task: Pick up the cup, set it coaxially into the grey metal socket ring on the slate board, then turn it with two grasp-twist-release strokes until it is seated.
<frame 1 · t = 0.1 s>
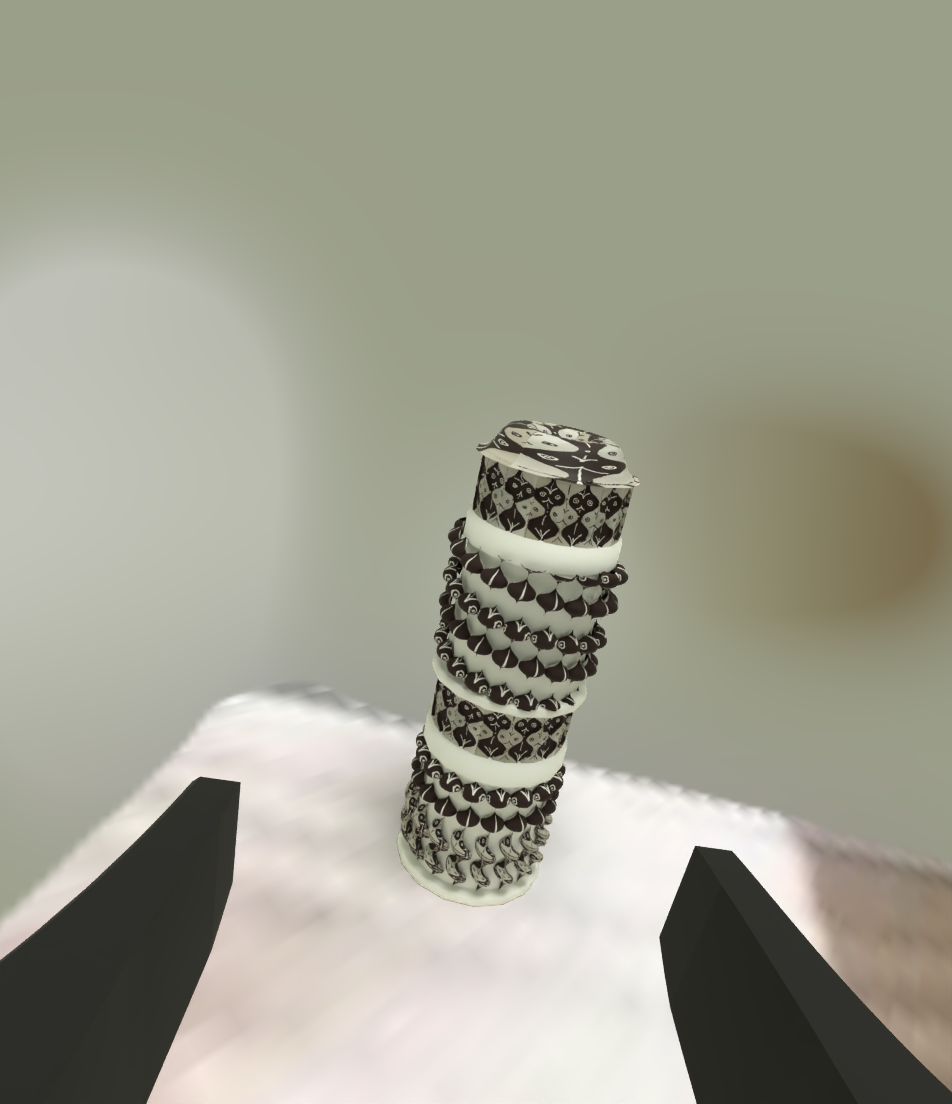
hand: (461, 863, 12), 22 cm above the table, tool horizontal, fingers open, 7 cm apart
decorative candle: (467, 853, 43), on the table
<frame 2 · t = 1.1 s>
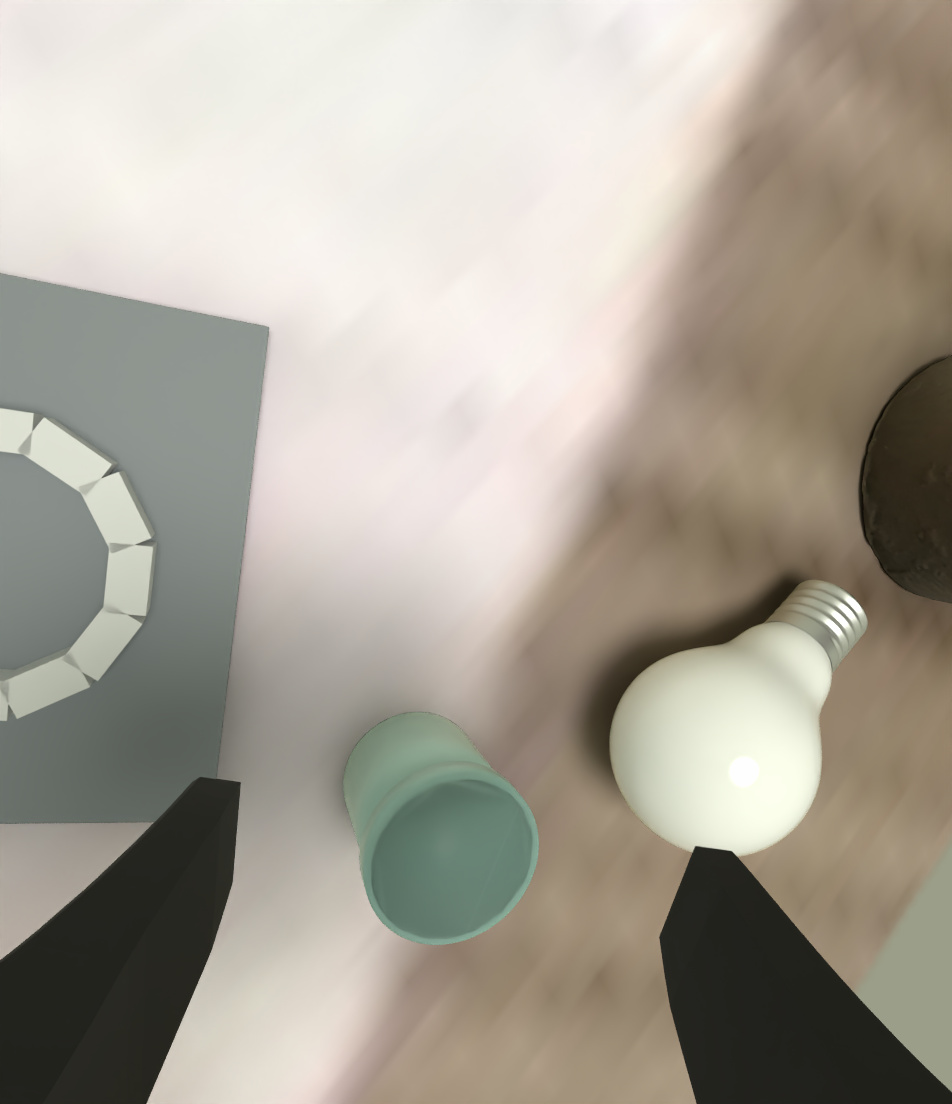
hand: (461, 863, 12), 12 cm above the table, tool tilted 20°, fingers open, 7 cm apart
lightbulb: (842, 595, 26), point 1 cm above the table
cup: (411, 777, 24), on the table
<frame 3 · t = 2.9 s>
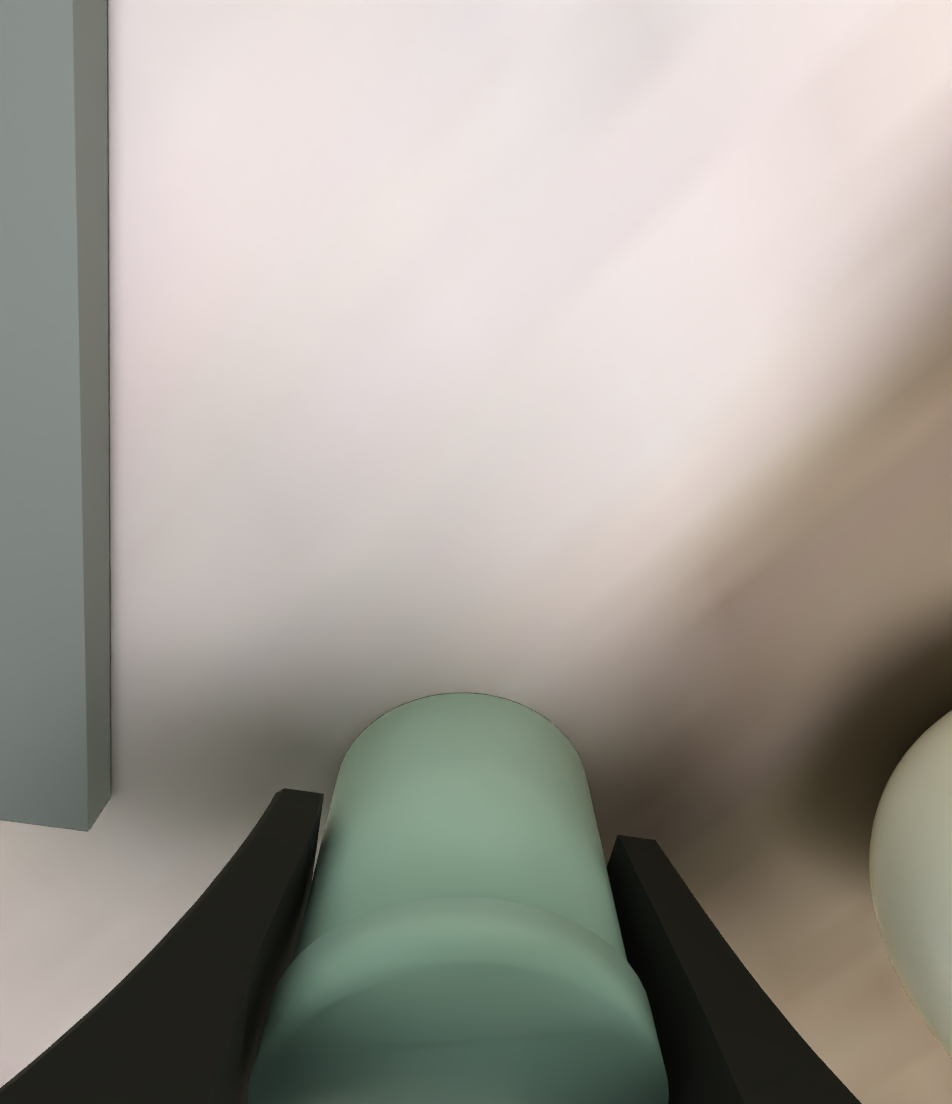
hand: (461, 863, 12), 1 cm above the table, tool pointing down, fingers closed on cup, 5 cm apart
cup: (462, 799, 13), on the table, touching gripper
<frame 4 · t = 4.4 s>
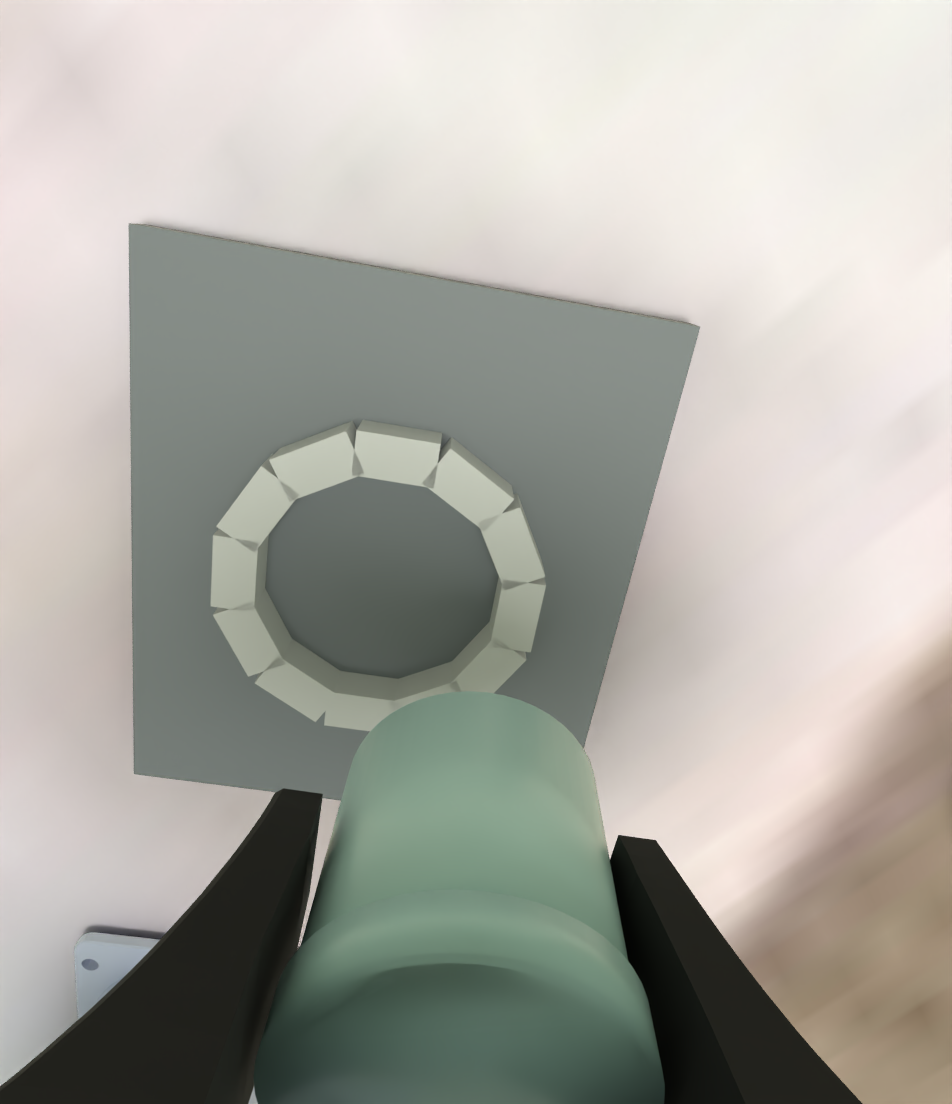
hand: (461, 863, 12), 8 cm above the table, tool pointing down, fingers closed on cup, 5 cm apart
socket board: (385, 564, 19), on the table
cup: (471, 796, 13), point 7 cm above the table, touching gripper
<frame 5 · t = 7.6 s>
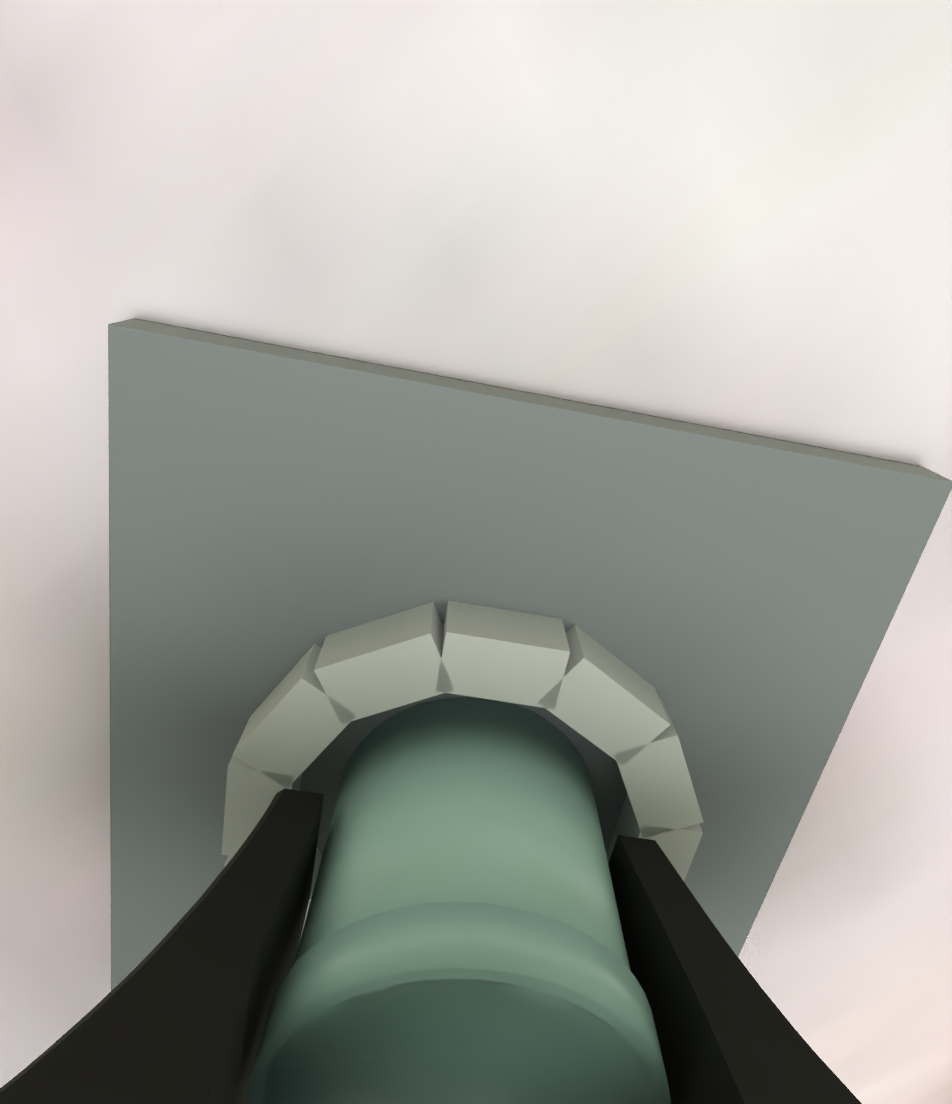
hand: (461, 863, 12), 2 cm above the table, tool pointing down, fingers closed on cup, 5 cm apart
socket board: (462, 770, 14), on the table
cup: (466, 804, 13), point 1 cm above the table, touching gripper, socket board
when the fingers open (2 cm above the table, at t = 9.1 s): cup stays where it is, resting on socket board.
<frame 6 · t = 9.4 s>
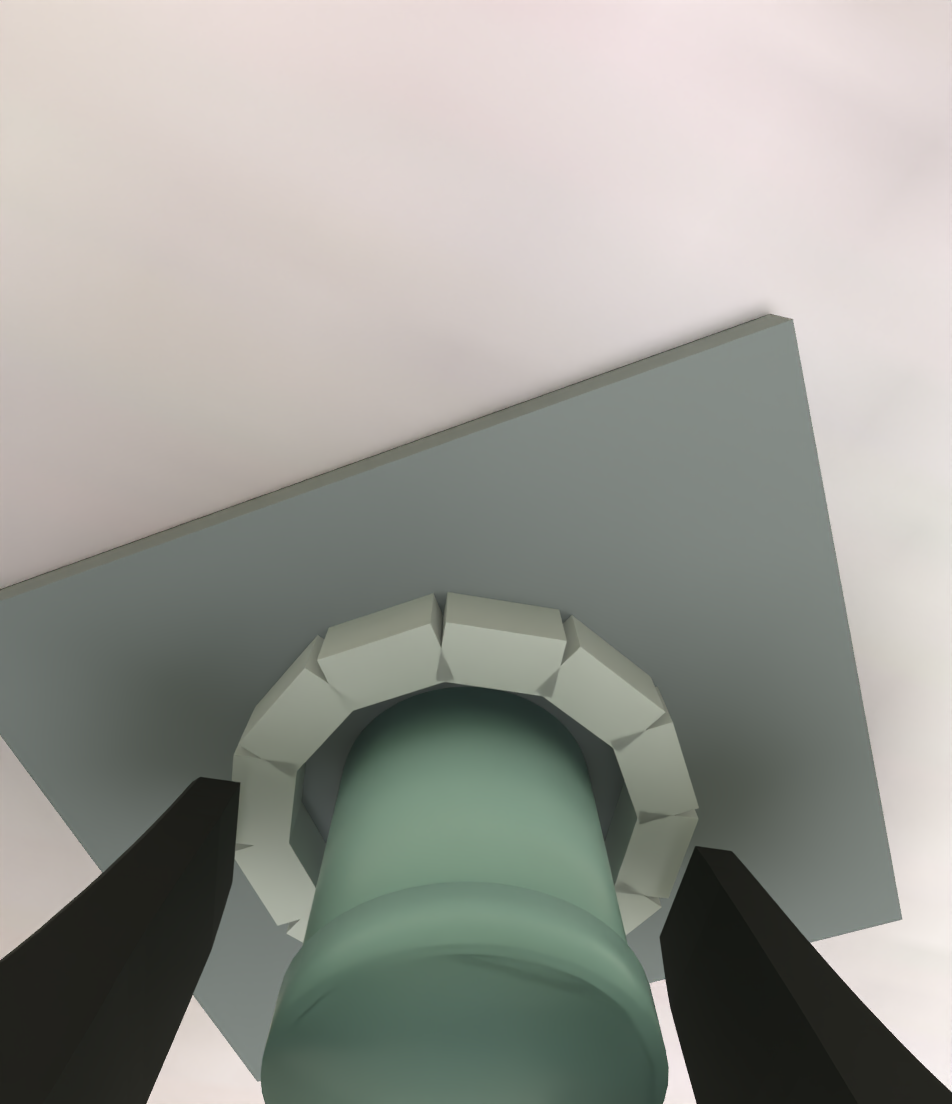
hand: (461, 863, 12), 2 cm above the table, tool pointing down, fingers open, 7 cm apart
socket board: (462, 760, 14), on the table
cup: (465, 791, 13), point 1 cm above the table, touching socket board
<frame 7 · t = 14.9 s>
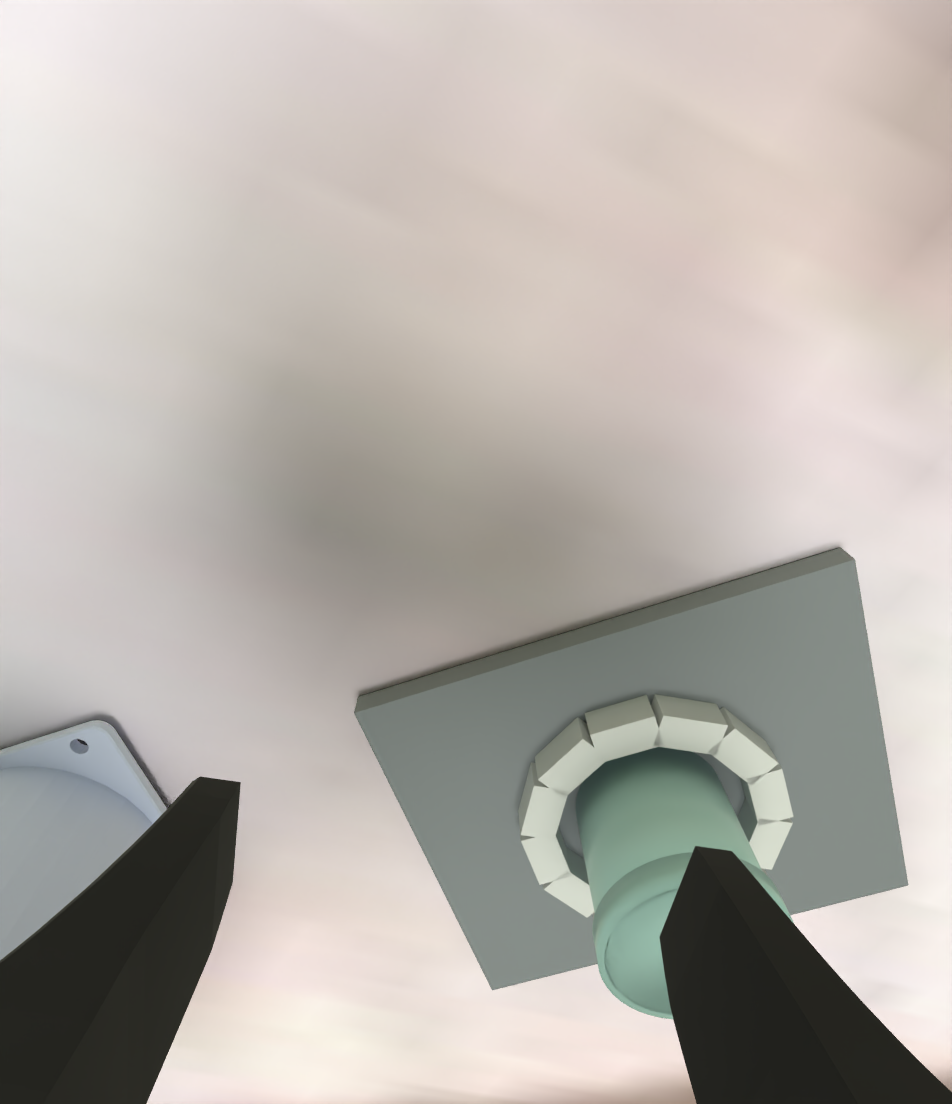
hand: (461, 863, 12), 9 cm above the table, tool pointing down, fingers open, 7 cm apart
socket board: (642, 786, 23), on the table
cup: (648, 803, 22), point 1 cm above the table, touching socket board
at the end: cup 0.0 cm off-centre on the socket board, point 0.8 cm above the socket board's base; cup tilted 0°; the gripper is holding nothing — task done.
